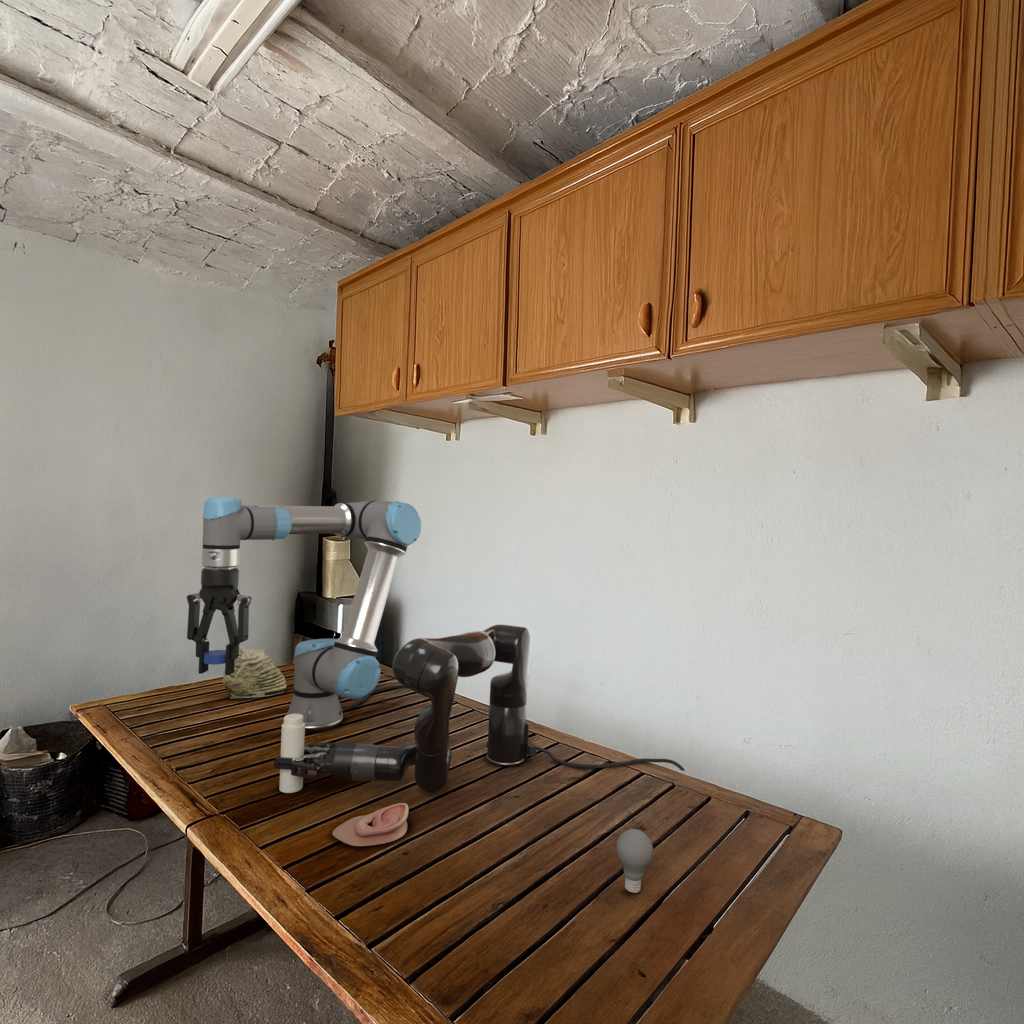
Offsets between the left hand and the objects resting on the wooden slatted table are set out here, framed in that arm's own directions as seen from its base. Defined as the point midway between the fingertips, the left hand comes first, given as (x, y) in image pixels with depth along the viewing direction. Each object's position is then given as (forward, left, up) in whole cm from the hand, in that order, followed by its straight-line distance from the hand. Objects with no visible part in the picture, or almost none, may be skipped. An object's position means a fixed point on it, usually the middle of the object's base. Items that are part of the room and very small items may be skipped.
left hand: (216, 672), depth 139 cm
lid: (0, 0, +4) cm, 4 cm away
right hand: (-8, +14, -17) cm, 23 cm away
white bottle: (-9, +16, -24) cm, 30 cm away
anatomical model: (-10, +43, -24) cm, 50 cm away
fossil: (-36, -48, -24) cm, 64 cm away
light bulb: (-27, +89, -24) cm, 96 cm away
